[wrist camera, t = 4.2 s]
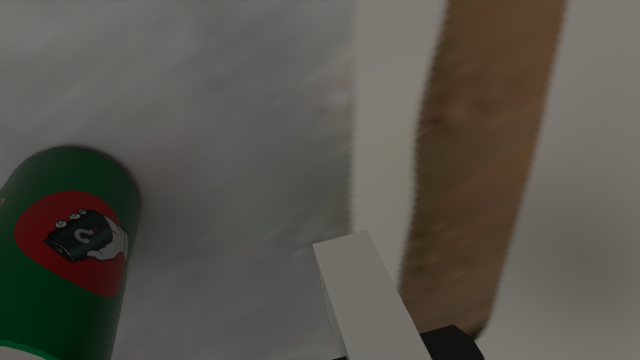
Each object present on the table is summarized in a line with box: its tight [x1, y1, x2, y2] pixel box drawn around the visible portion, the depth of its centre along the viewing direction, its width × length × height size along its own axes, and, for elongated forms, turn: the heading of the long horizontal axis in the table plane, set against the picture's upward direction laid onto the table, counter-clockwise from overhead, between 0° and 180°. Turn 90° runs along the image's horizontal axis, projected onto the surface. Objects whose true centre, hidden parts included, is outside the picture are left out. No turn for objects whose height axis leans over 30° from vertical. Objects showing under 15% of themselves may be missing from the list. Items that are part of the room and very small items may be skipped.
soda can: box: [0, 148, 140, 360], centre depth 17 cm, size 5×5×12 cm
